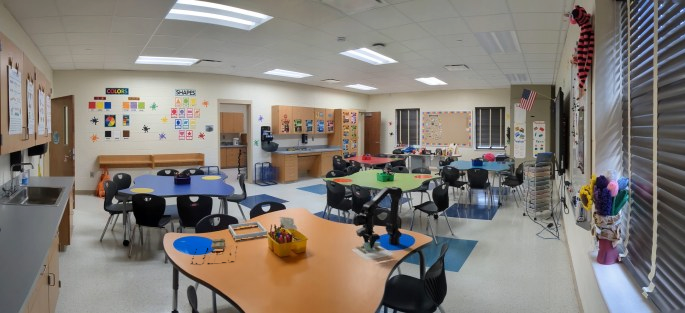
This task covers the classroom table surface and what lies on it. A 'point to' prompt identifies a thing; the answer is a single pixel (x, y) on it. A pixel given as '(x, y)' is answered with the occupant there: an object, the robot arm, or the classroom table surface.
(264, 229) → the train corral
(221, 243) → the pile of dominoes
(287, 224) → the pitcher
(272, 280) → the classroom table surface
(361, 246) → the cradle
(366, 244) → the teal dome with tabs
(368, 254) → the board
